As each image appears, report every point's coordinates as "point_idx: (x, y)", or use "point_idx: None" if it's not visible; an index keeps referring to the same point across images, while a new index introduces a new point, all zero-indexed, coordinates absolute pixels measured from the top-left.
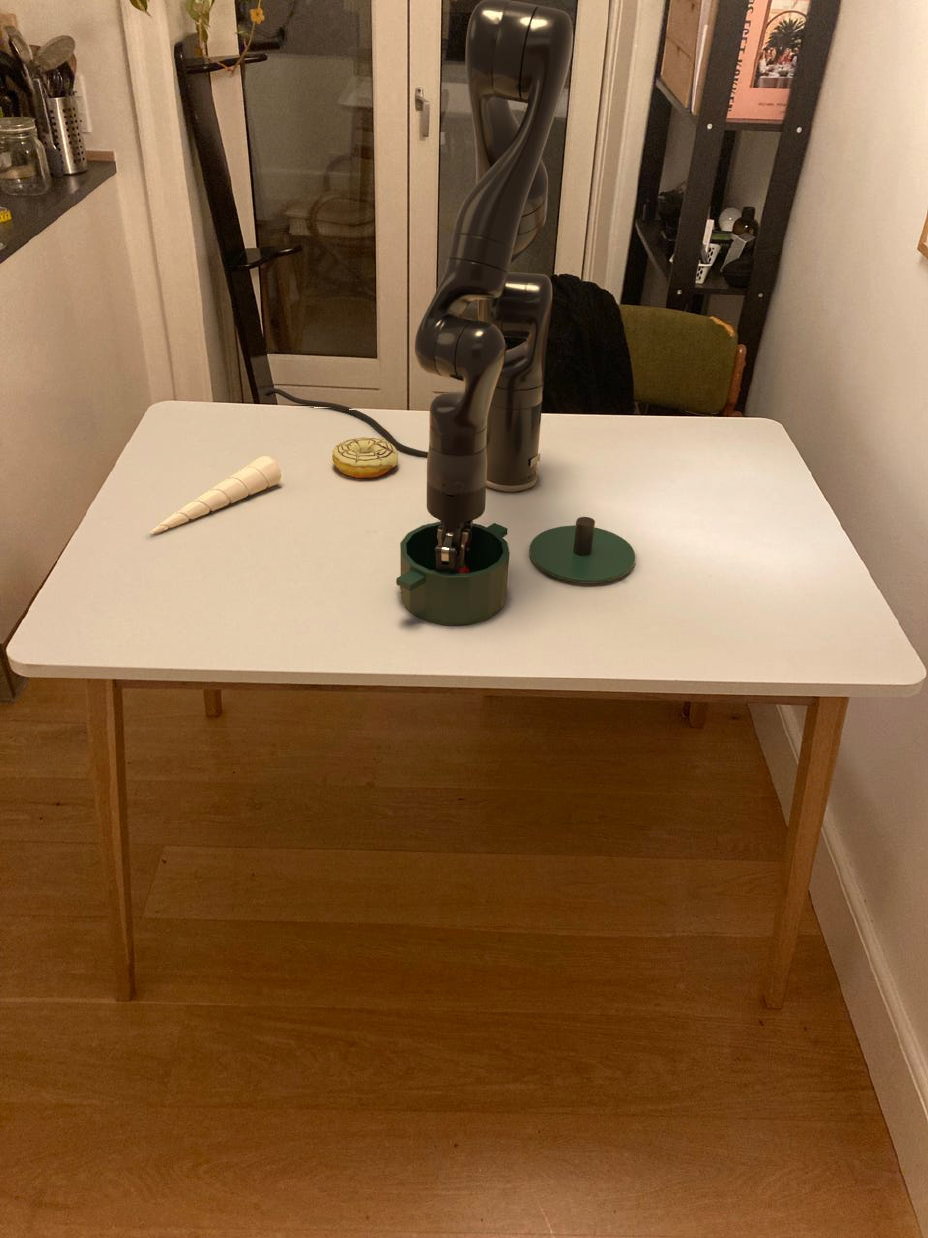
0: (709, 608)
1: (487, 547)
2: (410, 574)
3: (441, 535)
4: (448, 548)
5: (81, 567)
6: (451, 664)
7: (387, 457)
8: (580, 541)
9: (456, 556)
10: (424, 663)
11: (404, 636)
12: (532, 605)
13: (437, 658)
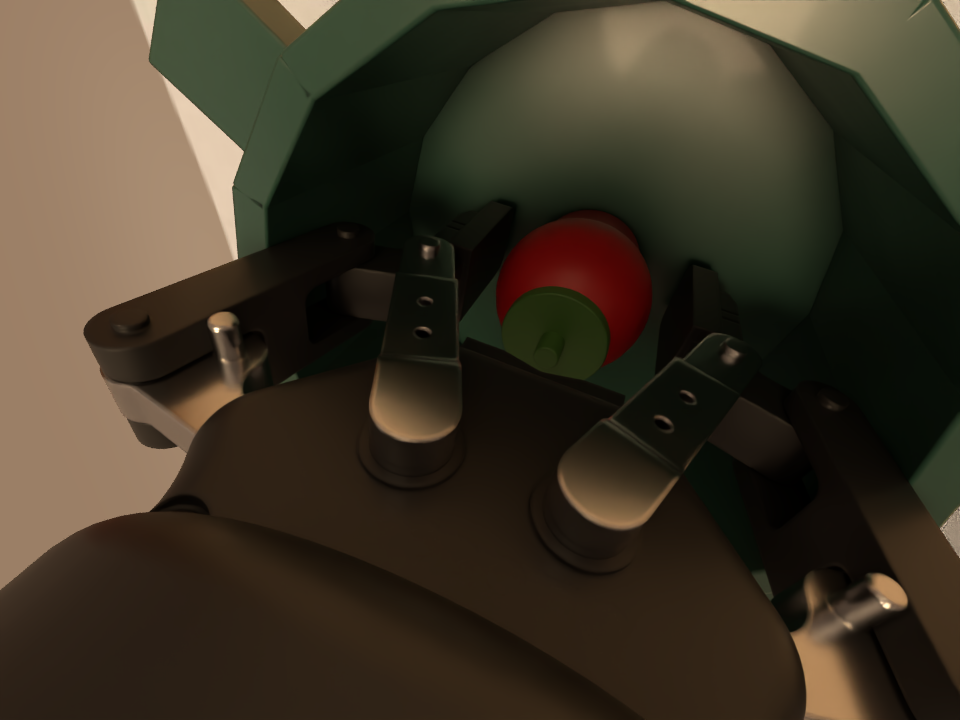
0: None
1: (703, 496)
2: (246, 59)
3: (222, 417)
4: (121, 409)
5: None
6: (227, 198)
7: None
8: None
9: (552, 366)
10: (198, 109)
11: (302, 16)
12: None
13: (235, 156)
